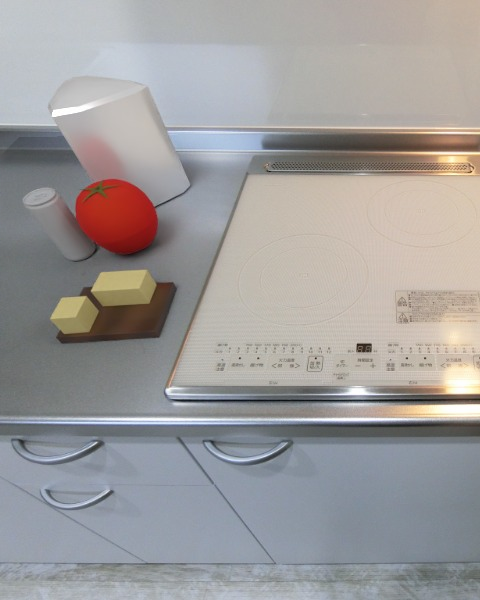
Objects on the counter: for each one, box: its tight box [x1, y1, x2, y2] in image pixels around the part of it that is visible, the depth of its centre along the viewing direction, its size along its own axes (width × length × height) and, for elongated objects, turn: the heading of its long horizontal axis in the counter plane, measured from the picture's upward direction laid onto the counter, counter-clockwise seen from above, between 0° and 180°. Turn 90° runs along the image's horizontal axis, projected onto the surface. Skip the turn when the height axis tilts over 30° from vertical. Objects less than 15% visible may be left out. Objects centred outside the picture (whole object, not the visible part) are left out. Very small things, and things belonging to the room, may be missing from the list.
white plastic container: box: [47, 75, 191, 207], centre depth 79 cm, size 15×14×22 cm
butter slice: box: [49, 295, 99, 334], centre depth 63 cm, size 4×4×4 cm
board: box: [55, 281, 177, 344], centre depth 67 cm, size 14×10×2 cm
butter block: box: [91, 269, 157, 306], centre depth 67 cm, size 7×4×4 cm, turn 94°
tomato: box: [74, 179, 159, 255], centre depth 73 cm, size 11×11×13 cm
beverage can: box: [21, 187, 96, 262], centre depth 72 cm, size 5×5×12 cm
